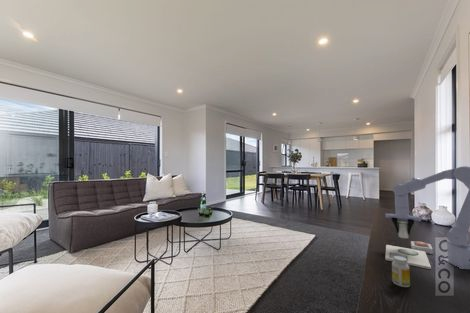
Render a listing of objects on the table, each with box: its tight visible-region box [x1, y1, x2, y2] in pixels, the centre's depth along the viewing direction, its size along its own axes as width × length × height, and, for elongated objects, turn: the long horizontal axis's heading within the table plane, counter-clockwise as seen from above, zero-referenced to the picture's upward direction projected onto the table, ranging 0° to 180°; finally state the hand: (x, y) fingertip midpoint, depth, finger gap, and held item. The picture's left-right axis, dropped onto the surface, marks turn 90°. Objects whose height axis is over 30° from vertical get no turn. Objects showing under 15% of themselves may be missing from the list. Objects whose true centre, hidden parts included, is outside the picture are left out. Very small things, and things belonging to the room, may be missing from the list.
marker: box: [397, 221, 409, 239], centre depth 111 cm, size 4×4×8 cm
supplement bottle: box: [391, 256, 411, 288], centre depth 81 cm, size 5×5×10 cm
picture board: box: [384, 244, 432, 270], centre depth 104 cm, size 20×16×1 cm
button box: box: [410, 240, 434, 255], centre depth 111 cm, size 8×8×2 cm
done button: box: [414, 240, 428, 247], centre depth 112 cm, size 5×5×1 cm
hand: (403, 233), depth 111 cm, fingers closed on marker, 4 cm apart
